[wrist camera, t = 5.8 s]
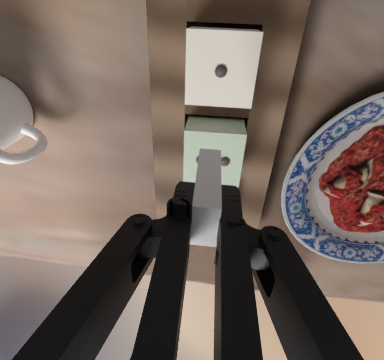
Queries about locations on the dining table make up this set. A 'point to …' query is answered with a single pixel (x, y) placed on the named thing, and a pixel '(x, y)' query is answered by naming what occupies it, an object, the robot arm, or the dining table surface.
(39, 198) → the dining table surface
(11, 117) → the cup
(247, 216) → the button board
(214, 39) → the tile one
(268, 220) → the dining table surface
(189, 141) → the tile two
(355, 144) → the ceramic plate
